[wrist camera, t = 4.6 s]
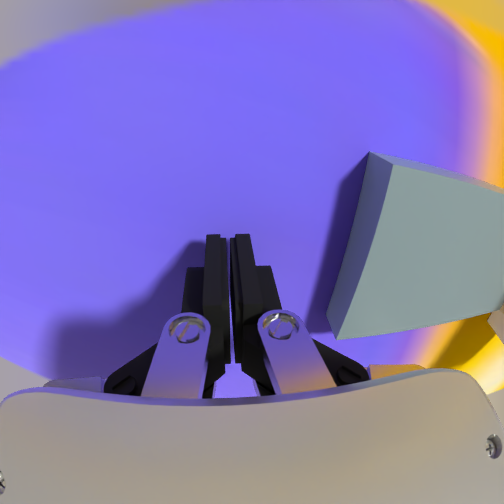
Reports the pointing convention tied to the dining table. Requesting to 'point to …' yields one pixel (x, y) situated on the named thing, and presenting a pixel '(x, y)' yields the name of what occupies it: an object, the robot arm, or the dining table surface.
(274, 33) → the dining table surface
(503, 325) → the shelf
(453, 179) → the panel
